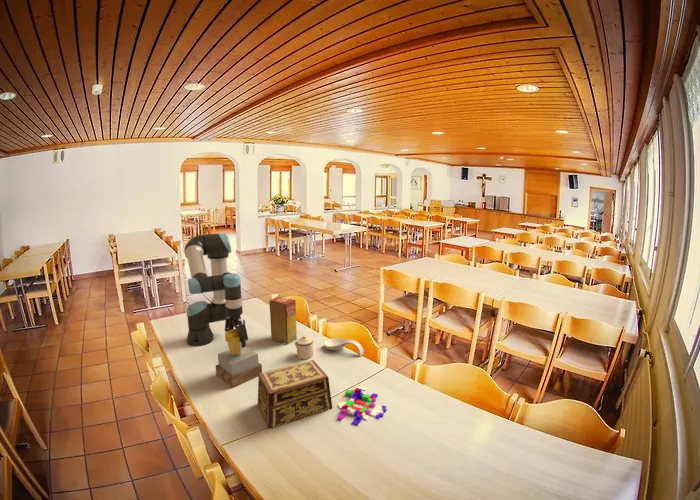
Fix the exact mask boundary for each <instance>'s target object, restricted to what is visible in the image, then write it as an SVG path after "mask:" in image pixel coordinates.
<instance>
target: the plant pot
mask: <svg viewBox="0 0 700 500" xmlns="http://www.w3.org/2000/svg"><path fill="white" fill-rule="evenodd" d="M246 331H247V332H248V330H247V329H246ZM224 341H225V342H226V343H227V345H228V346H227V347H228V350H230V353H232V354H240V342H239V341H240V338H239V335H238V332H237V329H236V328H233V329H232V330H229V331H227V332H225V333H224Z"/></svg>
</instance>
